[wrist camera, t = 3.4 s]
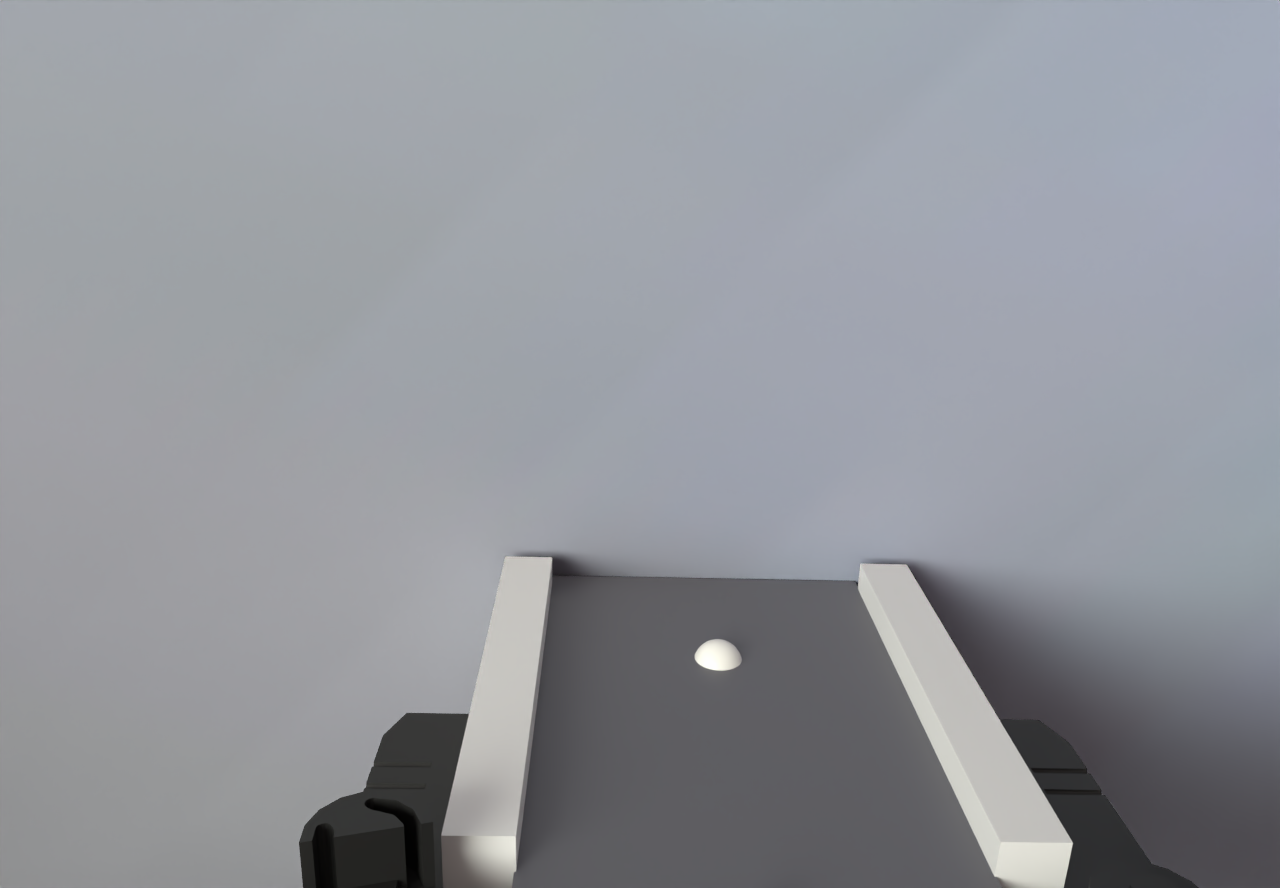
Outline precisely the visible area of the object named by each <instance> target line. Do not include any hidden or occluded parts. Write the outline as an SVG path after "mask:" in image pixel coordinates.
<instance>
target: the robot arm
mask: <svg viewBox="0 0 1280 888" xmlns="http://www.w3.org/2000/svg"><path fill="white" fill-rule="evenodd" d="M551 589H552V557H509V556H505V560H504V564H503V568H502V573H501V577H500V581H499V586H498V590H497V594H496V599H495V603H494V607H493V612H492V616H491V620H490V625H489V629H488V634H487V638H486V642H485V647H484V651H483V655H482V660H481V664H480V668H479V673H478V677H477V681H476V686H475V690H474V695H473V699H472V703H471V708H470V712H469V714H436V713H406V714H405V715H404V716H403V717H402V718H401V719H400V720H399V721H398V722H397V723H396V724H395V725H394V726H393V727H392V728H391V729H390V730H388V731H387V732H386V733H385V734H384V735H383V738H382V740H381V743H380V746H379V749H378V752H377V755H376V757H375V760H374V767H372V769H371V772H370V774H369V777H368V780H367V784H366V788H365V789H364V791H363V792H361V793H357V794H353V795H350V796H346V797H342V798H340V799H338V800H336V801H334V802H332V803H331V804H329V805H327V806H325V807H323V808H322V809H320V810H319V811H318V812H317V813H316V814H315V815H314V816H313V817H312V818H311V819H310V820H309V821H308V822H307V824H306V825H305V826H304V829H303V832H302V836H301V839H300V842H299V846H300V857H301V868H302V879H303V888H512V883H513V875H514V872H516V869H517V861H518V853H519V845H520V837H521V829H522V821H523V813H524V805H525V797H526V789H527V781H528V773H529V765H530V757H531V749H532V741H533V733H534V725H535V717H536V709H537V701H538V693H539V685H540V677H541V669H542V661H543V653H544V645H545V637H546V629H547V621H548V613H549V605H550V597H551ZM858 590H859V593H860V595H861V597H862V599H863V601H864V603H865V605H866V607H867V609H868V611H869V614H870V616H871V618H872V620H873V622H874V624H875V626H876V628H877V630H878V633H879V635H880V637H881V639H882V641H883V643H884V645H885V647H886V649H887V651H888V654H889V656H890V658H891V660H892V662H893V664H894V666H895V668H896V670H897V673H898V675H899V677H900V679H901V681H902V683H903V685H904V687H905V689H906V691H907V694H908V696H909V698H910V700H911V702H912V704H913V706H914V708H915V710H916V713H917V715H918V717H919V719H920V721H921V723H922V725H923V727H924V729H925V732H926V734H927V736H928V738H929V740H930V742H931V744H932V746H933V748H934V750H935V753H936V755H937V757H938V759H939V761H940V763H941V765H942V767H943V769H944V772H945V774H946V776H947V778H948V780H949V782H950V784H951V786H952V788H953V790H954V793H955V795H956V797H957V799H958V801H959V803H960V805H961V807H962V809H963V812H964V814H965V816H966V818H967V820H968V822H969V824H970V826H971V828H972V830H973V833H974V835H975V837H976V839H977V841H978V843H979V845H980V847H981V849H982V852H983V854H984V856H985V858H986V860H987V862H988V864H989V866H990V868H991V870H992V873H993V875H994V877H997V878H998V880H999V882H1000V884H1001V886H1002V888H1198V887H1197V886H1196V885H1195V884H1194V883H1192V882H1191V881H1189V880H1187V879H1185V878H1184V877H1182V876H1180V875H1178V874H1176V873H1174V872H1172V871H1170V870H1168V869H1166V868H1162V867H1159V866H1155V865H1152V864H1151V862H1150V861H1149V859H1148V858H1147V857H1146V855H1145V854H1144V852H1143V851H1142V849H1141V848H1140V846H1139V845H1138V843H1137V842H1136V840H1135V839H1134V837H1133V836H1132V835H1131V833H1130V832H1129V830H1128V829H1127V827H1126V826H1125V824H1124V823H1123V821H1122V820H1121V818H1120V817H1119V815H1118V814H1117V813H1116V811H1115V810H1114V808H1113V807H1112V805H1111V804H1110V802H1109V801H1108V799H1107V798H1106V796H1105V795H1101V789H1100V788H1099V786H1098V785H1097V783H1096V782H1095V780H1094V779H1093V777H1092V776H1091V774H1087V769H1086V767H1085V766H1084V764H1083V763H1082V761H1081V760H1080V758H1079V757H1078V755H1077V754H1076V752H1075V751H1074V749H1073V748H1072V747H1071V745H1070V744H1069V743H1068V742H1067V741H1066V740H1064V739H1063V738H1062V737H1061V736H1059V735H1058V734H1057V733H1055V732H1054V731H1053V730H1051V729H1050V728H1049V727H1047V726H1046V725H1045V724H1043V723H1042V722H1041V721H1039V720H999V718H998V717H997V715H996V713H995V712H994V710H993V708H992V707H991V705H990V703H989V702H988V700H987V698H986V696H985V695H984V693H983V691H982V690H981V688H980V686H979V685H978V683H977V681H976V680H975V678H974V676H973V675H972V673H971V671H970V670H969V668H968V666H967V665H966V663H965V661H964V660H963V658H962V656H961V655H960V653H959V651H958V650H957V648H956V646H955V645H954V643H953V641H952V640H951V638H950V636H949V635H948V633H947V631H946V630H945V628H944V626H943V625H942V623H941V621H940V620H939V618H938V616H937V615H936V613H935V611H934V609H933V608H932V606H931V604H930V603H929V601H928V599H927V598H926V596H925V594H924V593H923V591H922V589H921V588H920V586H919V584H918V583H917V581H916V579H915V578H914V576H913V574H912V573H911V571H910V569H909V568H908V566H907V565H906V564H860V572H859V581H858Z"/></svg>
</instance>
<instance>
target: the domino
mask: <svg viewBox="0 0 1280 888" xmlns="http://www.w3.org/2000/svg"><path fill="white" fill-rule="evenodd" d="M512 888H1002V886H1001V884H1000V882H999V880H998V878H997V877H994V875H993V873H992V870H991V868H990V866H989V864H988V862H987V860H986V858H985V856H984V854H983V852H982V849H981V847H980V845H979V843H978V841H977V839H976V837H975V835H974V833H973V830H972V828H971V826H970V824H969V822H968V820H967V818H966V816H965V814H964V812H963V809H962V807H961V805H960V803H959V801H958V799H957V797H956V795H955V793H954V790H953V788H952V786H951V784H950V782H949V780H948V778H947V776H946V774H945V772H944V769H943V767H942V765H941V763H940V761H939V759H938V757H937V755H936V753H935V750H934V748H933V746H932V744H931V742H930V740H929V738H928V736H927V734H926V732H925V729H924V727H923V725H922V723H921V721H920V719H919V717H918V715H917V713H916V710H915V708H914V706H913V704H912V702H911V700H910V698H909V696H908V694H907V691H906V689H905V687H904V685H903V683H902V681H901V679H900V677H899V675H898V673H897V670H896V668H895V666H894V664H893V662H892V660H891V658H890V656H889V654H888V651H887V649H886V647H885V645H884V643H883V641H882V639H881V637H880V635H879V633H878V630H877V628H876V626H875V624H874V622H873V620H872V618H871V616H870V614H869V611H868V609H867V607H866V605H865V603H864V601H863V599H862V597H861V595H860V593H859V590H858V587H857V585H856V583H855V581H821V580H767V579H713V578H659V577H606V576H552V589H551V597H550V605H549V613H548V621H547V629H546V637H545V645H544V653H543V661H542V669H541V677H540V685H539V693H538V701H537V709H536V717H535V725H534V733H533V741H532V749H531V757H530V765H529V773H528V781H527V789H526V797H525V805H524V813H523V821H522V829H521V837H520V845H519V853H518V861H517V869H516V872H514V875H513V883H512Z"/></svg>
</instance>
